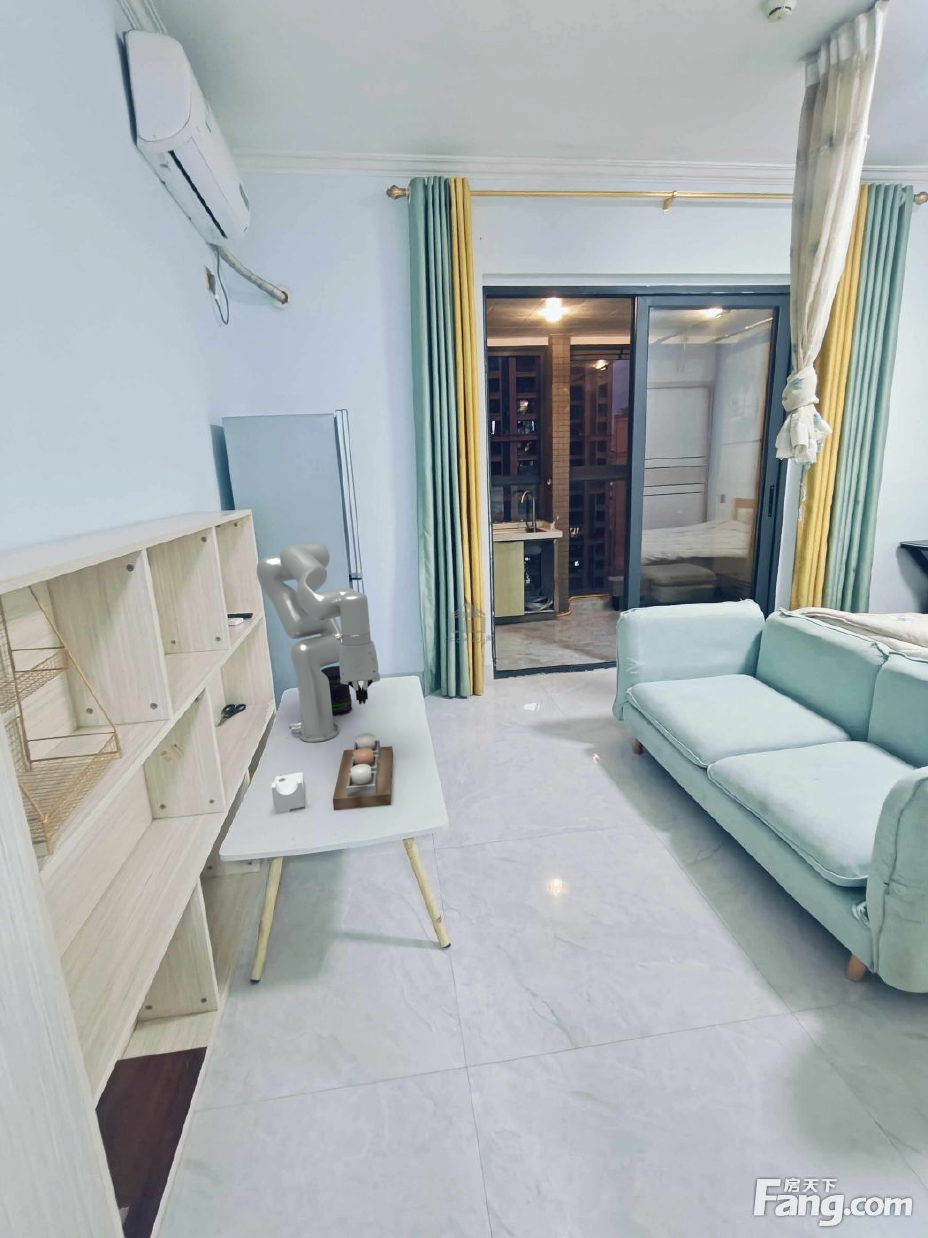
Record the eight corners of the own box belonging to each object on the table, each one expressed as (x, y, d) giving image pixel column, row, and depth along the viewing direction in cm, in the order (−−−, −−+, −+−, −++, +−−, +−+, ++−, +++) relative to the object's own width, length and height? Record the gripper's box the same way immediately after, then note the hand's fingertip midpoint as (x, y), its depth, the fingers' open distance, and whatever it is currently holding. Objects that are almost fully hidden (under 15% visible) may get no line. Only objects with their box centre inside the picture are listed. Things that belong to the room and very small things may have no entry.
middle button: (354, 767, 152) (353, 757, 151) (355, 758, 156) (354, 748, 156) (373, 766, 152) (372, 755, 151) (374, 757, 157) (373, 747, 156)
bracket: (305, 809, 144) (301, 782, 142) (275, 815, 142) (271, 787, 140) (304, 783, 156) (301, 758, 154) (276, 788, 154) (273, 763, 152)
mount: (333, 810, 142) (331, 790, 141) (344, 759, 167) (342, 742, 166) (390, 804, 144) (389, 785, 142) (393, 755, 169) (391, 738, 167)
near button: (350, 785, 143) (349, 774, 142) (352, 775, 148) (351, 764, 147) (371, 783, 143) (370, 773, 143) (372, 773, 148) (371, 763, 147)
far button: (356, 751, 160) (355, 742, 159) (358, 743, 165) (357, 734, 164) (374, 750, 161) (374, 740, 160) (375, 742, 165) (375, 732, 165)
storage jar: (322, 708, 206) (317, 668, 202) (349, 703, 209) (345, 664, 205) (326, 718, 196) (321, 677, 193) (354, 713, 200) (350, 672, 196)
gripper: (326, 644, 151) (333, 709, 155) (384, 640, 152) (389, 705, 156) (330, 636, 158) (336, 699, 162) (385, 633, 159) (390, 695, 164)
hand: (362, 702), depth 159 cm, fingers closed
